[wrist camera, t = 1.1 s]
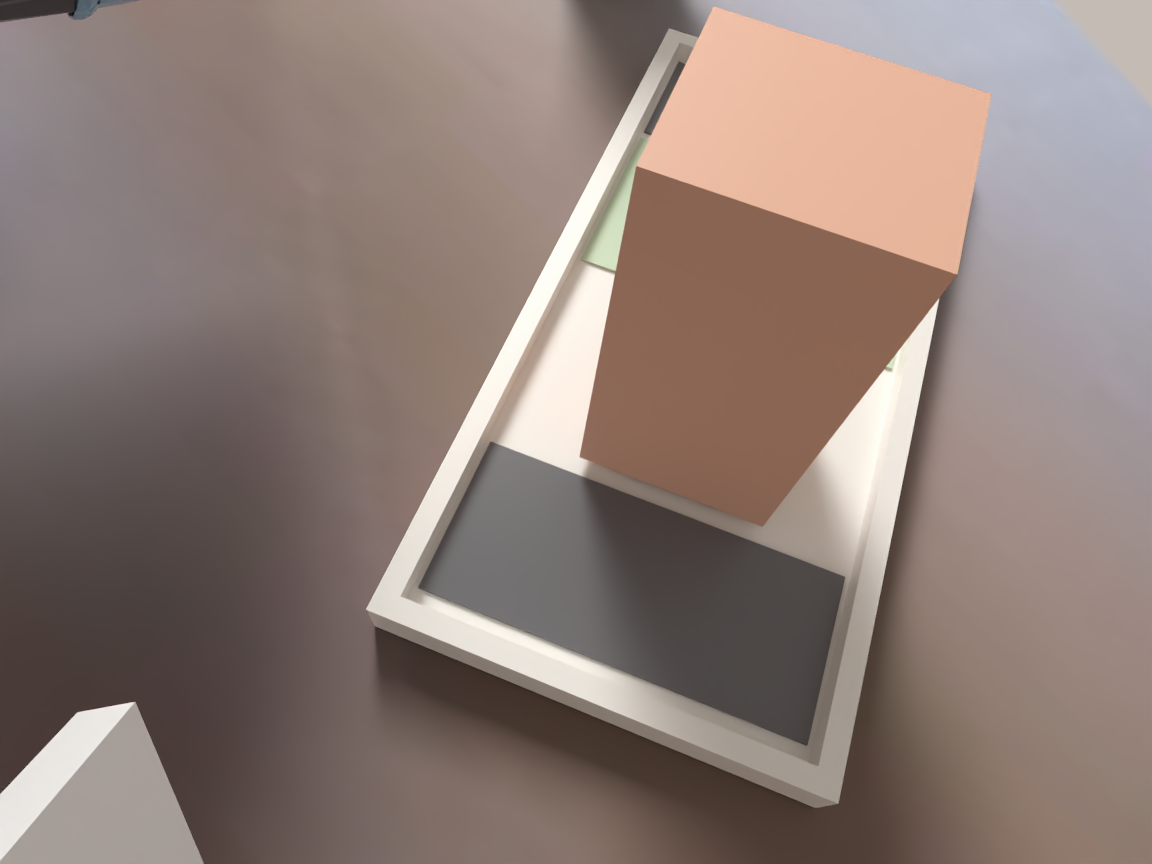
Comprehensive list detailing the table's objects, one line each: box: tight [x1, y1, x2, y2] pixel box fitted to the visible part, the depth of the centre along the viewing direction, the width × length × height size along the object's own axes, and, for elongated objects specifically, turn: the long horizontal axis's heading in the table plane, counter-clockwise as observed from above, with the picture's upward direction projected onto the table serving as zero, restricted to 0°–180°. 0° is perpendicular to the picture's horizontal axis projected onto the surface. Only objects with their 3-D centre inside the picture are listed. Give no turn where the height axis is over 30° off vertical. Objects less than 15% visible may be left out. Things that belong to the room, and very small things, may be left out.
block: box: [579, 7, 991, 527], centre depth 25 cm, size 7×6×14 cm
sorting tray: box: [366, 28, 939, 808], centre depth 33 cm, size 16×32×2 cm, turn 159°
